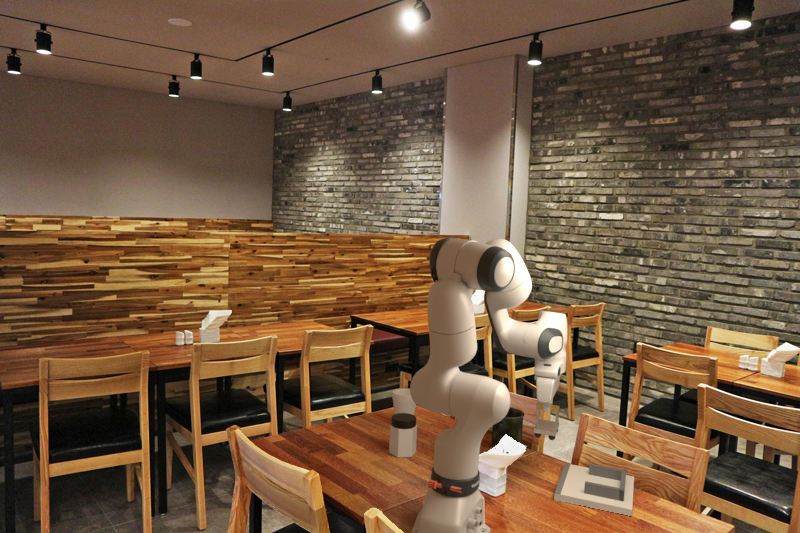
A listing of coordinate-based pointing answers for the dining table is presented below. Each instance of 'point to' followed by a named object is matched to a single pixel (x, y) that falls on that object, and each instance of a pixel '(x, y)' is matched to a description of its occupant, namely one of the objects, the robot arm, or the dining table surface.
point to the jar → (403, 435)
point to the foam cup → (403, 401)
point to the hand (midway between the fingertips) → (547, 410)
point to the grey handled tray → (546, 423)
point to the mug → (509, 426)
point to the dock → (596, 488)
